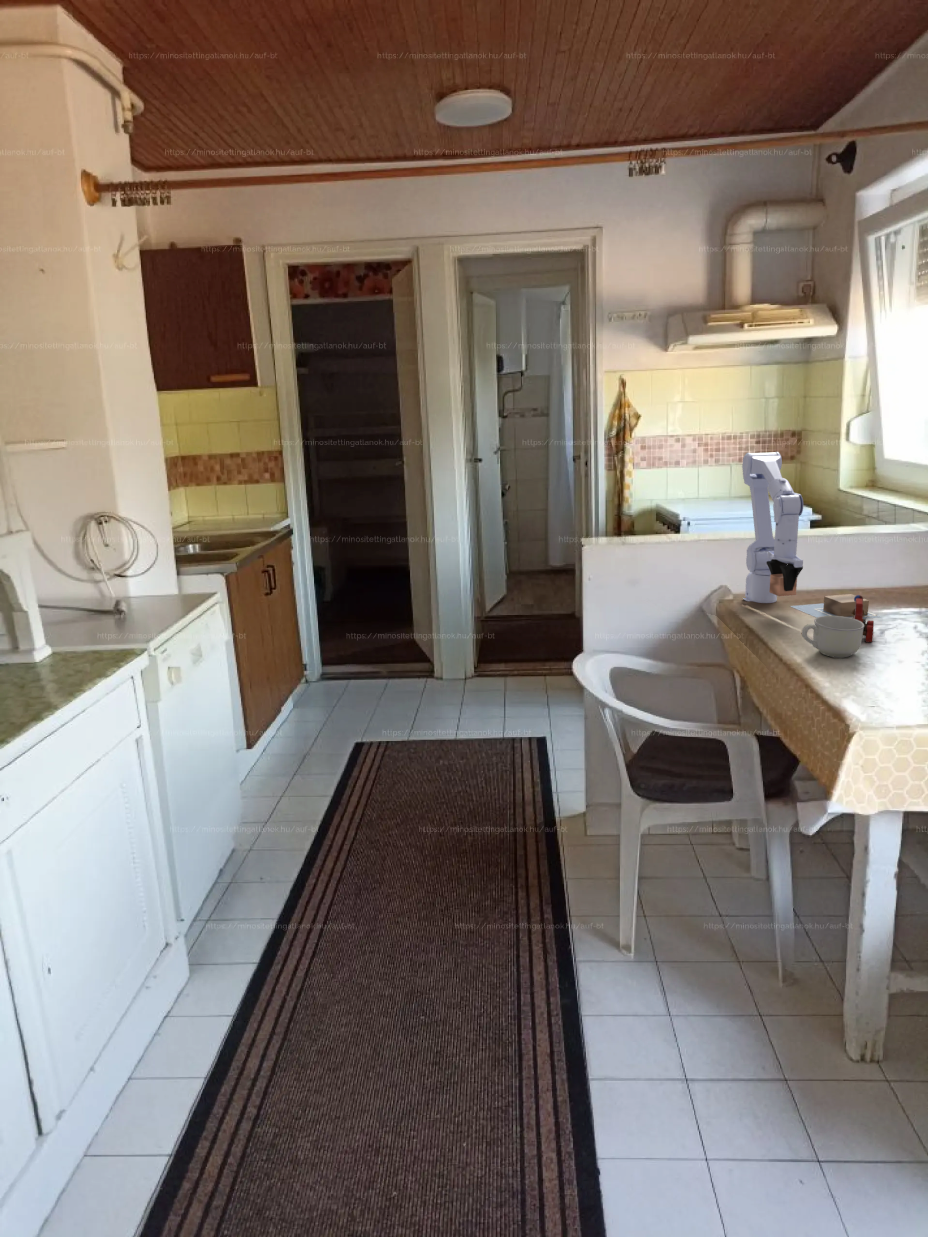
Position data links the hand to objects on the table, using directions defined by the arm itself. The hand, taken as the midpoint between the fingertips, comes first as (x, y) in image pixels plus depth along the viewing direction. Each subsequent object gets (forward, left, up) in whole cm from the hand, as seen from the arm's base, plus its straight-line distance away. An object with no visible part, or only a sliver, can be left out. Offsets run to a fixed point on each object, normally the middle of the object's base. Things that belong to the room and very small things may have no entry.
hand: (782, 588), depth 230 cm
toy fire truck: (+25, +6, -8) cm, 27 cm away
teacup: (+35, -8, -8) cm, 37 cm away
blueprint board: (+3, +14, -8) cm, 16 cm away
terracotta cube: (0, 0, -1) cm, 1 cm away
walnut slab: (+5, +16, -7) cm, 18 cm away
